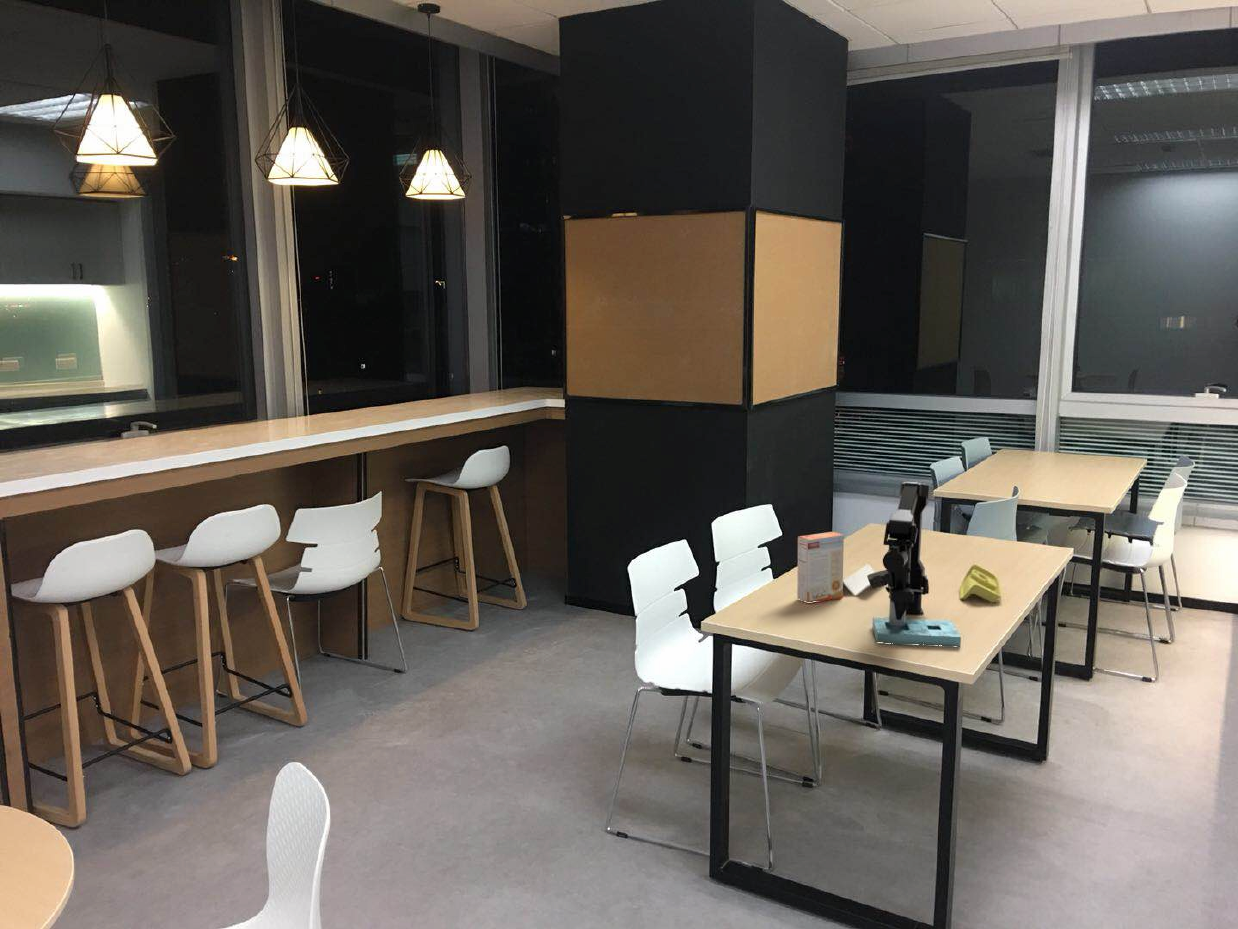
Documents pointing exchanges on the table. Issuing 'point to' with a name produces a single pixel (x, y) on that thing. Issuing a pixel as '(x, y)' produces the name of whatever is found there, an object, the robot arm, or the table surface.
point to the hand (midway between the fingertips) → (897, 617)
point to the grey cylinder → (892, 617)
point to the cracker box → (820, 567)
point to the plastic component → (980, 584)
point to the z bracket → (859, 580)
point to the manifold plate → (917, 632)
